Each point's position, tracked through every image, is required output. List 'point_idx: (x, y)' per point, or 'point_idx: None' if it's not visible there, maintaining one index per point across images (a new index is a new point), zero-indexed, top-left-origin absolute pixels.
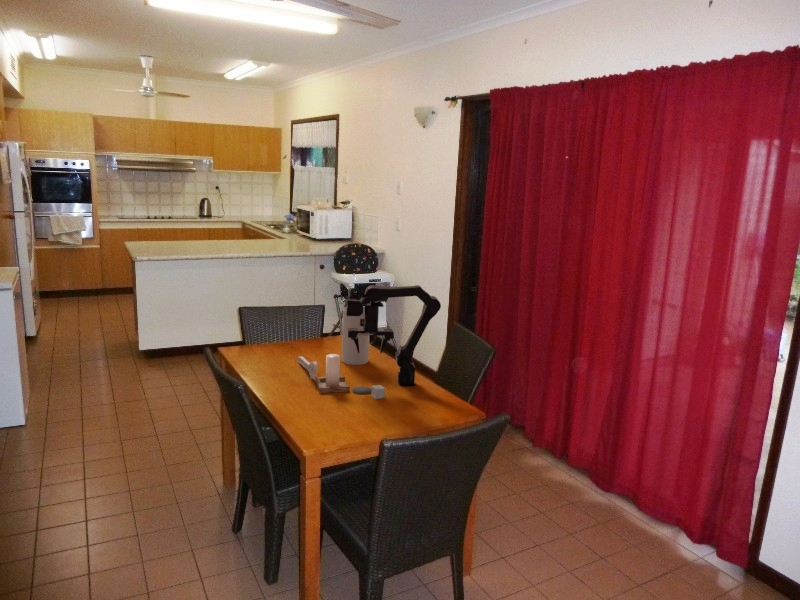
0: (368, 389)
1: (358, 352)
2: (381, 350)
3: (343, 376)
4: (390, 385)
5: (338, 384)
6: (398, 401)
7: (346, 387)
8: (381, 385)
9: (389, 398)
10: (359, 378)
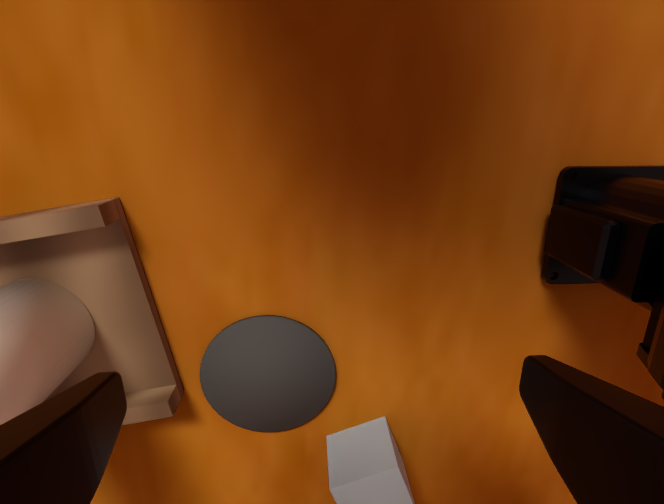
0: (311, 365)
1: (107, 428)
2: (569, 466)
3: (87, 210)
4: (475, 270)
5: (82, 359)
6: (471, 496)
7: (152, 416)
8: (400, 475)
9: (429, 466)
10: (240, 124)
